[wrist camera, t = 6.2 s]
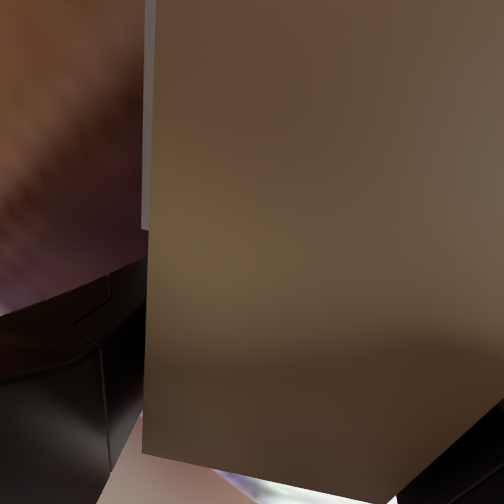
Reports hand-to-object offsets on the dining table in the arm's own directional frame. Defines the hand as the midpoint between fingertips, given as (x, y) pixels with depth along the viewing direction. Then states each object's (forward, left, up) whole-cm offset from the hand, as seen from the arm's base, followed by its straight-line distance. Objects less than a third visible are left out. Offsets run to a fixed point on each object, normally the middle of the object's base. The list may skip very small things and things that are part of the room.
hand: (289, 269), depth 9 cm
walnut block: (+5, 0, -1) cm, 5 cm away
